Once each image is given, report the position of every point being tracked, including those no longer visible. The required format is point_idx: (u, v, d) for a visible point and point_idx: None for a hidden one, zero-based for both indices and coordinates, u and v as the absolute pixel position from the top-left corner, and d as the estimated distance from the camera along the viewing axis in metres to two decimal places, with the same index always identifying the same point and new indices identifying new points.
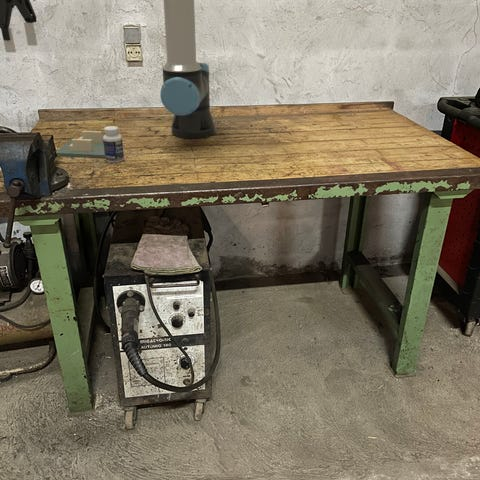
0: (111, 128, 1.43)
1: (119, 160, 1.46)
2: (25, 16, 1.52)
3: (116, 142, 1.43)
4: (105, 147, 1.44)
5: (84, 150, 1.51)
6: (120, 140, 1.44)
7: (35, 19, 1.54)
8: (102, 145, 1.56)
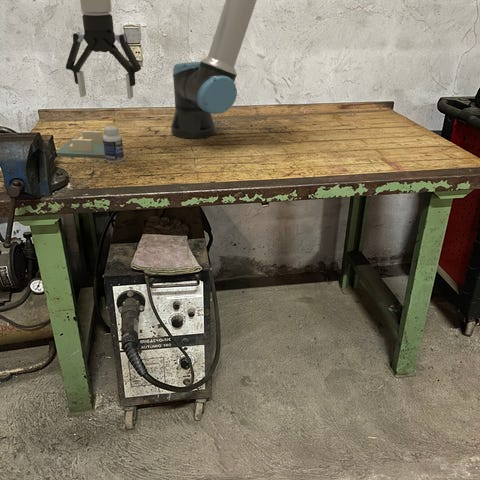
0: (111, 128, 1.43)
1: (119, 160, 1.46)
2: None
3: (116, 142, 1.43)
4: (105, 147, 1.44)
5: (84, 150, 1.51)
6: (120, 140, 1.44)
7: (131, 71, 1.33)
8: (102, 145, 1.56)
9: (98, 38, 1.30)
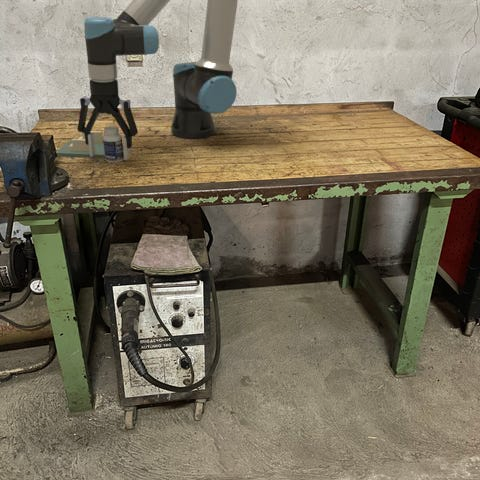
0: (111, 128, 1.43)
1: (119, 160, 1.46)
2: None
3: (116, 142, 1.43)
4: (105, 147, 1.44)
5: (84, 150, 1.51)
6: (120, 140, 1.44)
7: (128, 136, 1.42)
8: (102, 145, 1.56)
9: (103, 101, 1.38)
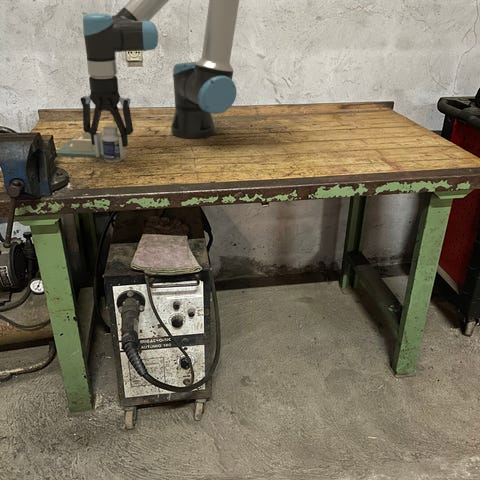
0: (110, 127, 1.43)
1: (118, 160, 1.46)
2: None
3: (115, 142, 1.43)
4: (104, 147, 1.44)
5: (84, 150, 1.51)
6: None
7: (124, 135, 1.42)
8: (102, 145, 1.56)
9: (103, 98, 1.38)
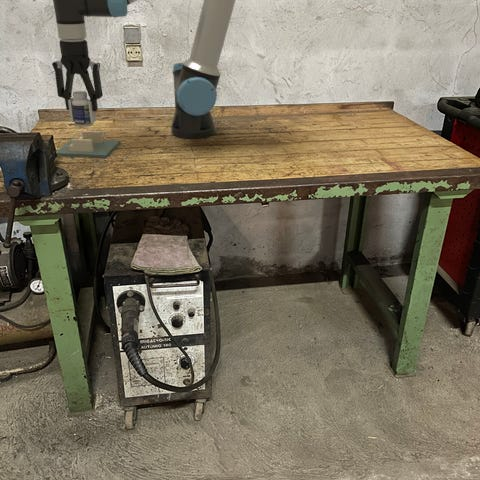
0: (80, 92, 1.47)
1: (88, 124, 1.50)
2: None
3: (85, 106, 1.47)
4: (74, 111, 1.48)
5: (84, 150, 1.51)
6: None
7: (93, 99, 1.46)
8: (102, 145, 1.56)
9: (74, 62, 1.42)
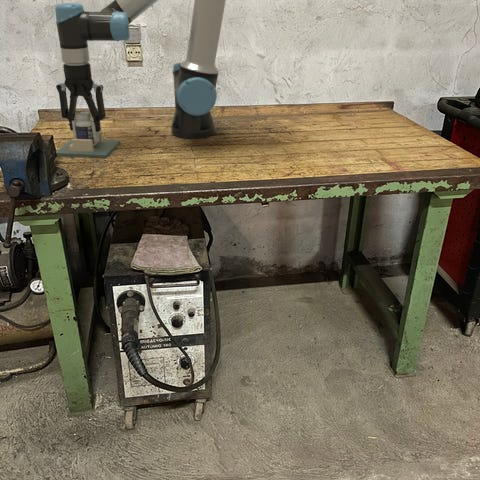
0: (83, 113, 1.50)
1: None
2: None
3: (88, 127, 1.50)
4: (78, 132, 1.51)
5: (84, 150, 1.51)
6: None
7: (96, 120, 1.49)
8: (102, 145, 1.56)
9: (77, 84, 1.45)
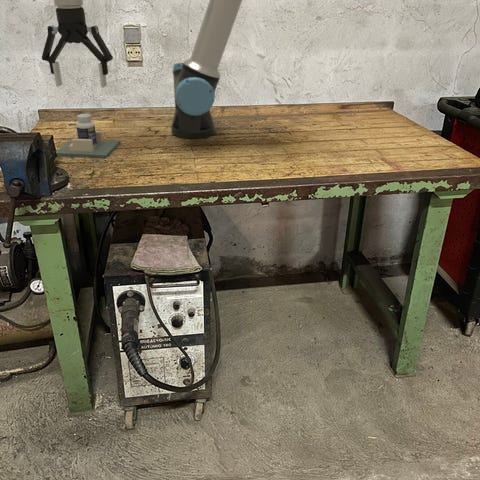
0: (84, 115, 1.50)
1: None
2: None
3: (89, 129, 1.50)
4: (78, 134, 1.51)
5: (84, 150, 1.51)
6: (93, 127, 1.51)
7: (103, 61, 1.42)
8: (102, 145, 1.56)
9: (71, 30, 1.39)
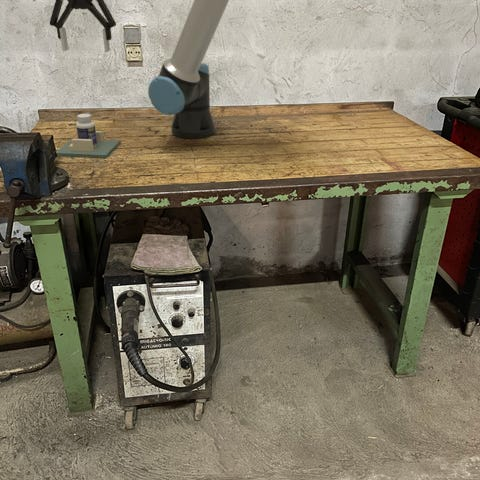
0: (84, 115, 1.50)
1: None
2: None
3: (89, 129, 1.50)
4: (78, 134, 1.51)
5: (84, 150, 1.51)
6: (93, 127, 1.51)
7: (107, 26, 1.51)
8: (102, 145, 1.56)
9: None
